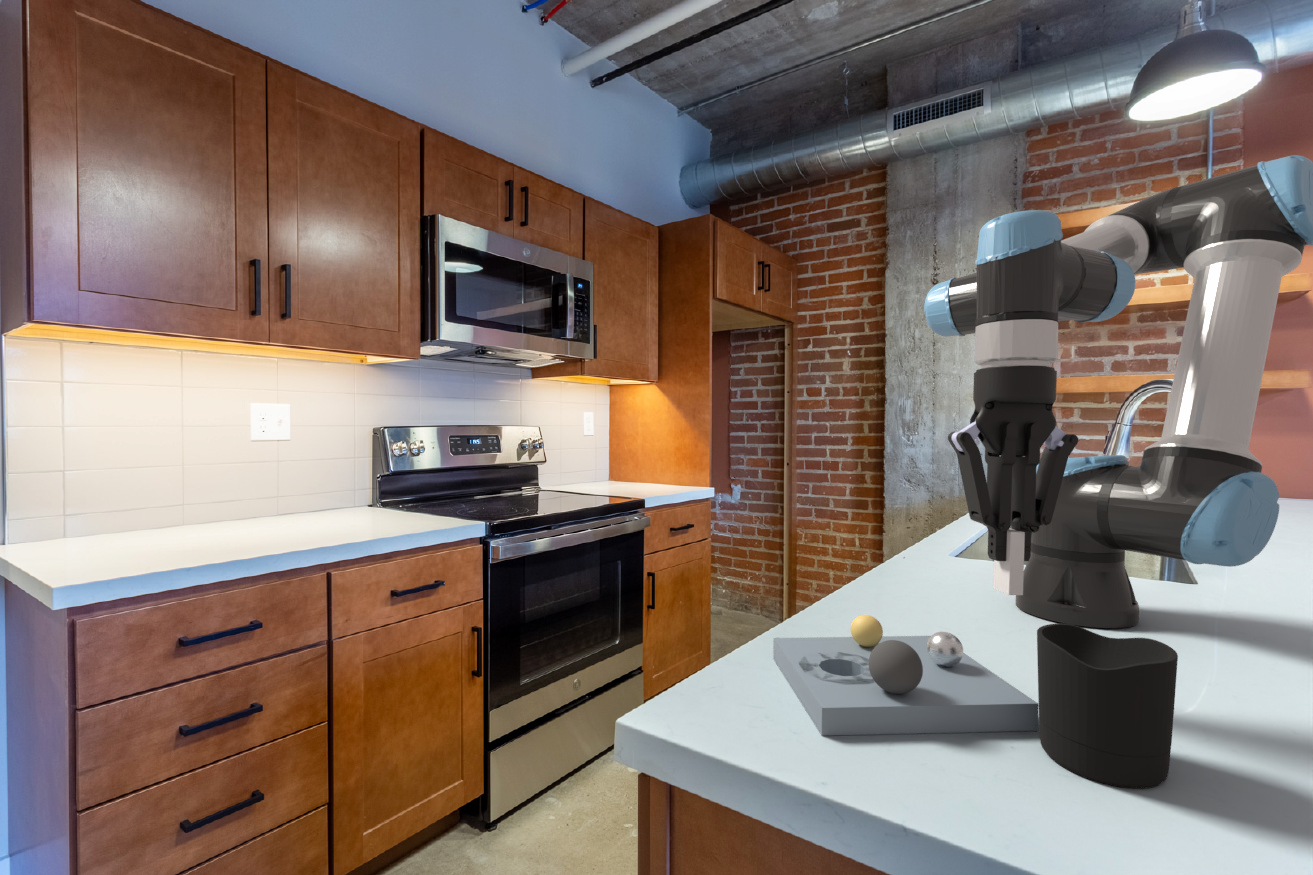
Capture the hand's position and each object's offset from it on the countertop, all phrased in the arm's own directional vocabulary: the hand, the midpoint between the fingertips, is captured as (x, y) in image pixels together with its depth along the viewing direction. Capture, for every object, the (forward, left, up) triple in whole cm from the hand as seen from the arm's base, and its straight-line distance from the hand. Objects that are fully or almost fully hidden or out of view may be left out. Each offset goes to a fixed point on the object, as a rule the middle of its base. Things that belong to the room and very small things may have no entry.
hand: (1007, 591), depth 65 cm
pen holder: (+1, +14, -11) cm, 17 cm away
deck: (+13, 0, -10) cm, 16 cm away
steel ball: (+7, 0, -6) cm, 9 cm away
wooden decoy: (+13, -6, -6) cm, 15 cm away
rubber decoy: (+15, +6, -5) cm, 17 cm away
